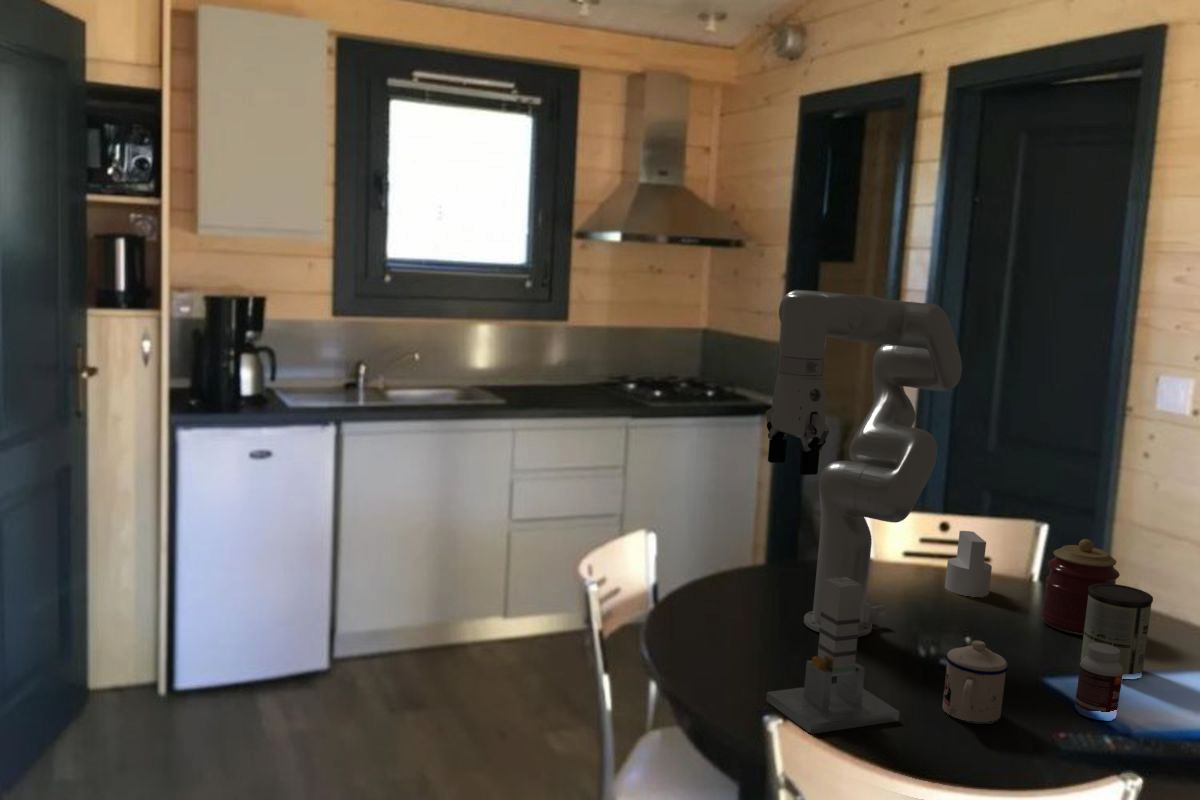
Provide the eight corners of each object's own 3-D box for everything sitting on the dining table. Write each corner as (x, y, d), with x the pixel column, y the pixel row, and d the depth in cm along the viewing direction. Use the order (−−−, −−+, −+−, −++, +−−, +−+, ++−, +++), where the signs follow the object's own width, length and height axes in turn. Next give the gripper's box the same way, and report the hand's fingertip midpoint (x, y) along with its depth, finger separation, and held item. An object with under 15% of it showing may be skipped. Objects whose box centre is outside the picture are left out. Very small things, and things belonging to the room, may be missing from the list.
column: (838, 663, 171) (846, 576, 169) (854, 673, 167) (863, 585, 165) (815, 666, 170) (823, 578, 168) (831, 676, 166) (840, 587, 164)
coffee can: (1076, 654, 201) (1086, 579, 199) (1138, 664, 198) (1148, 588, 196) (1081, 673, 191) (1091, 595, 189) (1146, 684, 188) (1157, 605, 186)
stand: (850, 689, 178) (855, 638, 177) (898, 720, 167) (904, 666, 166) (766, 701, 172) (770, 647, 170) (810, 734, 161) (815, 677, 159)
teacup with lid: (946, 697, 178) (954, 627, 176) (1005, 710, 173) (1014, 640, 172) (931, 723, 167) (939, 650, 165) (994, 739, 163) (1003, 663, 161)
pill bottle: (1118, 726, 170) (1127, 658, 169) (1074, 717, 172) (1083, 650, 171) (1115, 711, 176) (1124, 645, 174) (1073, 703, 178) (1081, 637, 177)
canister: (1093, 643, 207) (1105, 552, 205) (1028, 622, 217) (1038, 535, 214) (1123, 630, 216) (1135, 542, 213) (1059, 611, 226) (1070, 527, 223)
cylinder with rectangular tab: (994, 598, 231) (1001, 543, 230) (951, 596, 231) (958, 540, 230) (980, 585, 240) (986, 532, 238) (939, 583, 240) (945, 529, 239)
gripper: (850, 374, 177) (840, 478, 180) (790, 361, 193) (782, 457, 195) (811, 374, 174) (802, 480, 177) (754, 361, 190) (746, 458, 192)
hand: (792, 468), depth 186 cm, fingers open, 9 cm apart
